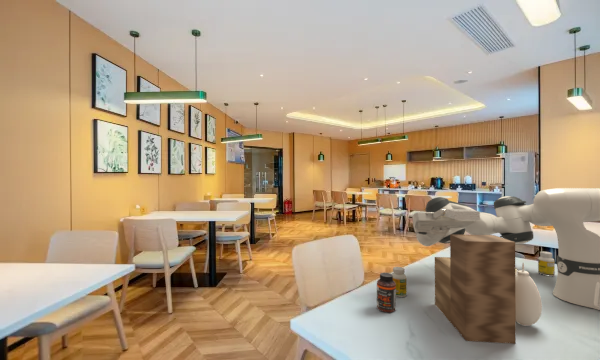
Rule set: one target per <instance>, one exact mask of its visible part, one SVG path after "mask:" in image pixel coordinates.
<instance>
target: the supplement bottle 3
mask: <svg viewBox="0 0 600 360" xmlns="http://www.w3.org/2000/svg"><path fill="white" fill-rule="evenodd" d="M539 254H540V256H539V257H538V258H537V269H538V270H537V272H538V273H537V274H539V273H540V274H539V275H541V274H543V275H542V276H544V275H549V276H553V277H555V276H554V275H556V274H555V273H556V272H555V267H556V265H555V263H556V261H555V259H554V258H553V253H552V252H551V251H550V252H549V251H539ZM549 276H548V277H549Z"/></svg>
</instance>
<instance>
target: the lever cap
mask: <svg viewBox="0 0 600 360" xmlns="http://www.w3.org/2000/svg"><path fill="white" fill-rule="evenodd" d="M474 210H475V209H474ZM474 210H470V209H445V217H448V218H451V219H455V220H480V212H481V211H480V210H476V211H474Z"/></svg>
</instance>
